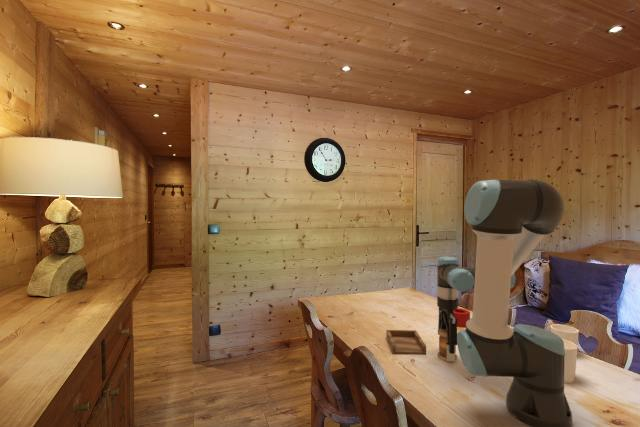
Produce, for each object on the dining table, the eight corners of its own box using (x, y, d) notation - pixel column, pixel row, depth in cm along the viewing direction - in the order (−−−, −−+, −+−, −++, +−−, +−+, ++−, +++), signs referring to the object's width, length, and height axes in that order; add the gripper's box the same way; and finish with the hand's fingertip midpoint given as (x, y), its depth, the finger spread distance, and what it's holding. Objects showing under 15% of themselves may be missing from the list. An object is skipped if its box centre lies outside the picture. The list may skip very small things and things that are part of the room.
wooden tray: (426, 354, 126) (426, 346, 126) (392, 354, 126) (392, 345, 126) (415, 338, 142) (415, 330, 142) (386, 337, 142) (386, 329, 142)
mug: (566, 360, 121) (567, 333, 121) (544, 350, 130) (544, 325, 129) (588, 357, 124) (588, 330, 124) (565, 347, 132) (565, 322, 132)
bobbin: (459, 362, 120) (460, 335, 120) (441, 361, 120) (441, 335, 120) (452, 353, 127) (453, 328, 126) (435, 353, 127) (435, 328, 127)
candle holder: (542, 367, 116) (543, 334, 115) (577, 376, 109) (577, 342, 109) (540, 378, 108) (540, 343, 108) (577, 389, 102) (577, 352, 102)
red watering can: (474, 326, 156) (474, 313, 156) (457, 328, 154) (457, 314, 153) (450, 314, 173) (451, 302, 173) (435, 316, 171) (435, 304, 171)
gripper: (468, 305, 113) (467, 369, 113) (448, 290, 133) (448, 345, 133) (446, 304, 113) (446, 368, 114) (430, 290, 133) (429, 345, 133)
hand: (447, 356), depth 123 cm, fingers closed on bobbin, 7 cm apart
